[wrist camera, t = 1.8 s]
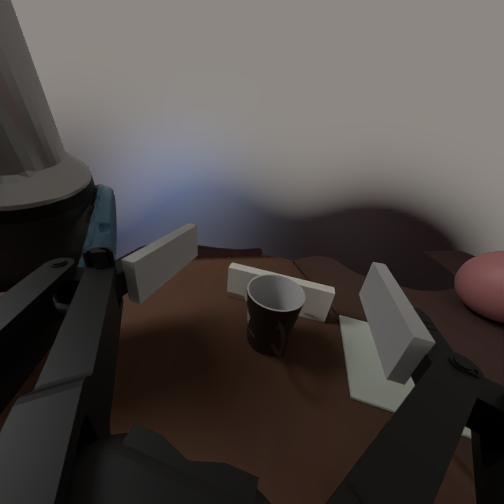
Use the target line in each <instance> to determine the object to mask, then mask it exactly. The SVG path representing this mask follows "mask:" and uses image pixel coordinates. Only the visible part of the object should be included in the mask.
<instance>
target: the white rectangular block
mask: <svg viewBox="0 0 504 504" xmlns="http://www.w3.org/2000/svg"><path fill="white" fill-rule="evenodd" d="M265 274H274V275H280V276H283V277H286V278H289V279H291V280H293V281H294V282H296V283H297V284H298V285H300V287H301V288H302V289H303V291H304V292H305V296H306V299H305V302H304V305H303V307H302V309H301V311H300V313H299V315H298V316H301V317H305V318H309V319H312V320H316V321H319V322H323V323H324V322H325V319H326V317H327V314H328V311H329V309H330V306H331V303H332V301H333V298H334V295H335V290H334V287H330V286H326V285H322V284H318V283H314V282H310V281H305V280H301V279H297V278H293V277H289V276H285V275H281V274H277V273H273V272H269V271H265V270H261V269H256V268H252V267H248V266H244V265H240V264H236V263H232V264H231V265H230V266H229V271H228V285H227V296H230V297H233V298H237V299H240V300H244V301H247V285H248V283H249V282H250V280H251V279H253V278H254V277H257V276H259V275H265Z"/></svg>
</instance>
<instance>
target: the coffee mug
mask: <svg viewBox="0 0 504 504" xmlns="http://www.w3.org/2000/svg"><path fill="white" fill-rule="evenodd" d="M305 299H306V296H305V292H304V291H303V289H302V288H301V287H300V285H298V284H297V283H296V282H294V281H293V280H291V279H289V278H286V277H283V276H280V275H274V274H265V275H259V276H257V277H254V278H253V279H251V280H250V282H249V283H248V285H247V331H248V341H249V344H250V345H251V347H252V348H253V349H254V350H256V351H257V352H259V353H261V354H265V355H273V354H276V355H277V356H278V357H283V356H284V352H285V343H286V341H287V339H288V337H289V335H290V333H291V330H292V328H293V326H294V324H295V322H296V320H297V318H298V315H299V313H300V311H301V309H302V307H303V305H304V302H305Z"/></svg>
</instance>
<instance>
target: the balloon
mask: <svg viewBox="0 0 504 504" xmlns="http://www.w3.org/2000/svg"><path fill="white" fill-rule="evenodd" d="M455 289H456V292H457V294H458V296H459V298H460V299H461V301H462V302H463V303H464V304H465V305H466V306H467V307H468V308H470V309H471V310H472V311H474V312H475V313H477V314H479V315H481V316H483V317H485V318H488V319H491V320H494V321H498V322H502V323H504V251H496V252H489V253H484V254H481V255H478V256H476V257H474V258H472V259H470V260H468V261H467V262H466V263H464V264H463V265H462V266H461V267H460V269H459V270H458V272H457V274H456V277H455Z"/></svg>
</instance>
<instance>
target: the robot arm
mask: <svg viewBox="0 0 504 504" xmlns="http://www.w3.org/2000/svg"><path fill="white" fill-rule="evenodd" d="M113 192H114V191H113V189H112V188H111V187H108V186H104V185H102V184H99V185H94V182H93V178H92V175H91V172H90V170H89V167H88V166H87V165H86V164H85V163H83V162H82V161H81V160H79V159H77V158H75V157H74V156H72V155H70V154H69V153H67V152H66V151H65V150H64V147H63V144H62V142H61V139H60V136H59V133H58V130H57V128H56V125H55V122H54V119H53V117H52V114H51V111H50V108H49V106H48V103H47V100H46V97H45V94H44V92H43V89H42V86H41V83H40V80H39V78H38V75H37V72H36V69H35V66H34V64H33V61H32V58H31V55H30V52H29V50H28V47H27V44H26V41H25V39H24V36H23V33H22V30H21V27H20V25H19V22H18V19H17V16H16V13H15V11H14V8H13V5H12V2H11V0H0V293H1V292H6V293H4V294H3V295H2V296H0V414H1V413H2V411H3V410H4V409H5V407H6V406H7V405H8V403H9V402H10V401H11V400H12V398H13V397H14V396H15V394H16V393H17V392H18V390H19V389H20V388H21V386H22V385H23V384H24V382H25V381H26V380H27V378H28V377H29V376H30V374H31V373H32V372H33V370H34V369H35V368H36V367H37V365H38V364H39V363H40V361H41V360H42V359H43V357H44V356H45V355H46V353H47V352H48V351H49V349H50V348H51V347H52V349H51V351H50V353H49V356H48V358H47V360H46V363H45V365H44V367H43V370H42V372H41V374H40V377H39V379H38V381H37V384H36V386H35V388H34V390H33V391H32V392H29V393H25V394H22V395H21V396H20V397H19V398H18V399H17V400H16V402H15V403H14V405H13V407H12V409H11V411H10V413H9V415H8V417H7V419H6V421H5V423H4V426H3V428H2V430H1V432H0V504H271V503H270V502H269V501H268V500H267V498H266V497H265V496H264V495H263V494H262V493H261V492H260V491H259V490H258V489H257V485H258V479H259V478H258V477H256V476H254V475H251V474H249V473H247V472H245V471H242V470H240V469H238V468H235V467H233V466H231V465H229V464H226V463H215V462H198V461H189V460H187V459H186V458H184V457H183V456H182V455H181V454H180V453H179V452H178V451H177V450H176V449H175V448H174V447H173V446H172V445H171V444H170V443H169V442H168V441H167V440H166V439H165V438H164V437H163V436H162V435H160V434H158V433H156V432H153V431H151V430H149V429H146V428H144V427H142V426H140V425H137V424H134V425H133V427H132V428H131V430H130V431H129V433H122V434H115V435H110V412H111V404H112V395H113V386H114V378H115V369H116V360H117V352H118V343H119V335H120V326H121V317H122V309H123V297H122V296H123V295H125V294H126V293H127V292H128V297H129V301H132V302H136V303H139V304H141V303H142V302H143V301H145V300H146V299H147V298H148V297H149V296H150V295H152V294H153V293H154V292H155V291H156V290H158V289H159V288H160V287H161V286H162V285H163V284H165V283H166V282H167V281H168V280H169V279H170V278H172V277H173V276H174V275H175V274H176V273H177V272H179V271H180V270H181V269H182V268H183V267H185V266H186V265H187V264H188V263H189V262H190V261H192V260H193V259H194V258H195V257H196V256H197V225H194V224H189V223H188V224H186V225H184V226H183V227H181V228H179V229H177V230H175V231H173V232H171V233H170V234H168V235H166V236H164V237H162V238H160V239H158V240H156V241H155V242H153V243H151V244H149V245H146V246H142V247H140V248H138V249H136V250H135V251H132V252H130V254H126V255H125V256H123V257H121V258H119V259H117V260H116V244H117V223H116V222H117V221H116V203H115V195H114V193H113ZM359 295H360V299H361V302H362V305H363V308H364V311H365V314H366V317H367V321H368V324H369V327H370V330H371V333H372V336H373V339H374V342H375V346H376V349H377V352H378V355H379V358H380V361H381V364H382V368H383V371H384V374H385V377H386V379H387V380H390V381H393V382H396V383H400V384H403V385H405V384H406V383H407V381H408V380H409V378H410V377H411V378H412V380H413V382H414V384H415V386H414V387H413V389H412V390H411V391H410V393H409V394H408V395H407V397H406V398H405V399H404V401H403V402H402V403H401V405H400V406H399V407H398V409H397V410H396V411H395V413H394V414H393V415H392V417H391V418H390V419H389V421H388V422H387V423H386V425H385V426H384V427H383V428H382V430H381V431H380V432H379V434H378V435H377V436H376V438H375V439H374V440H373V442H372V443H371V444H370V446H369V447H368V448H367V450H366V451H365V452H364V454H363V455H362V456H361V458H360V459H359V460H358V462H357V463H356V464H355V466H354V467H353V468H352V470H351V471H350V472H349V474H348V475H347V476H346V478H345V479H344V480H343V482H342V483H341V484H340V485H339V487H338V488H337V489H336V491H335V492H334V493H333V495H332V496H331V497H330V499H329V500H328V501H327V503H326V504H433V502H434V500H435V497H436V495H437V492H438V490H439V488H440V485H441V483H442V480H443V478H444V476H445V473H446V471H447V468H448V466H449V464H450V461H451V459H452V456H453V454H454V452H455V449H456V447H457V444H458V442H459V440H460V437H461V435H462V432H463V430H464V428H465V427H467V428H469V429H470V430H471V440H472V453H473V465H474V477H475V490H476V502H477V504H504V387H503V386H501V385H499V384H497V383H495V382H493V381H491V380H488V379H486V378H484V375H483V373H482V372H481V370H480V369H479V368H478V367H477V366H476V365H475V364H474V363H473V362H471V361H470V360H468V359H467V358H466V357H464V356H462V355H460V354H458V353H455V352H453V350H452V349H451V348H450V346H449V345H448V343H447V342H446V340H445V339H444V338H443V336H442V335H441V333H440V332H438V329H437V328H436V326H434V323H433V322H432V321H431V319H430V318H429V316H427V315H426V314H425V313H424V312H423V311H421V310H420V309H418V308H414V307H412V305H411V304H410V302H409V300H408V299H407V297H406V296H405V294H404V293H403V291H402V290H401V288H400V287H399V285H398V283H397V282H396V280H395V279H394V277H393V276H392V274H391V273H390V271H389V270H388V268H387V266H386V265H385V264H381V263H375V262H373V263H372V265H371V268H370V270H369V272H368V275H367V277H366V279H365V282H364V284H363V286H362V289H361V291H360V293H359ZM53 297H54V299H53ZM52 345H53V346H52Z"/></svg>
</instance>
